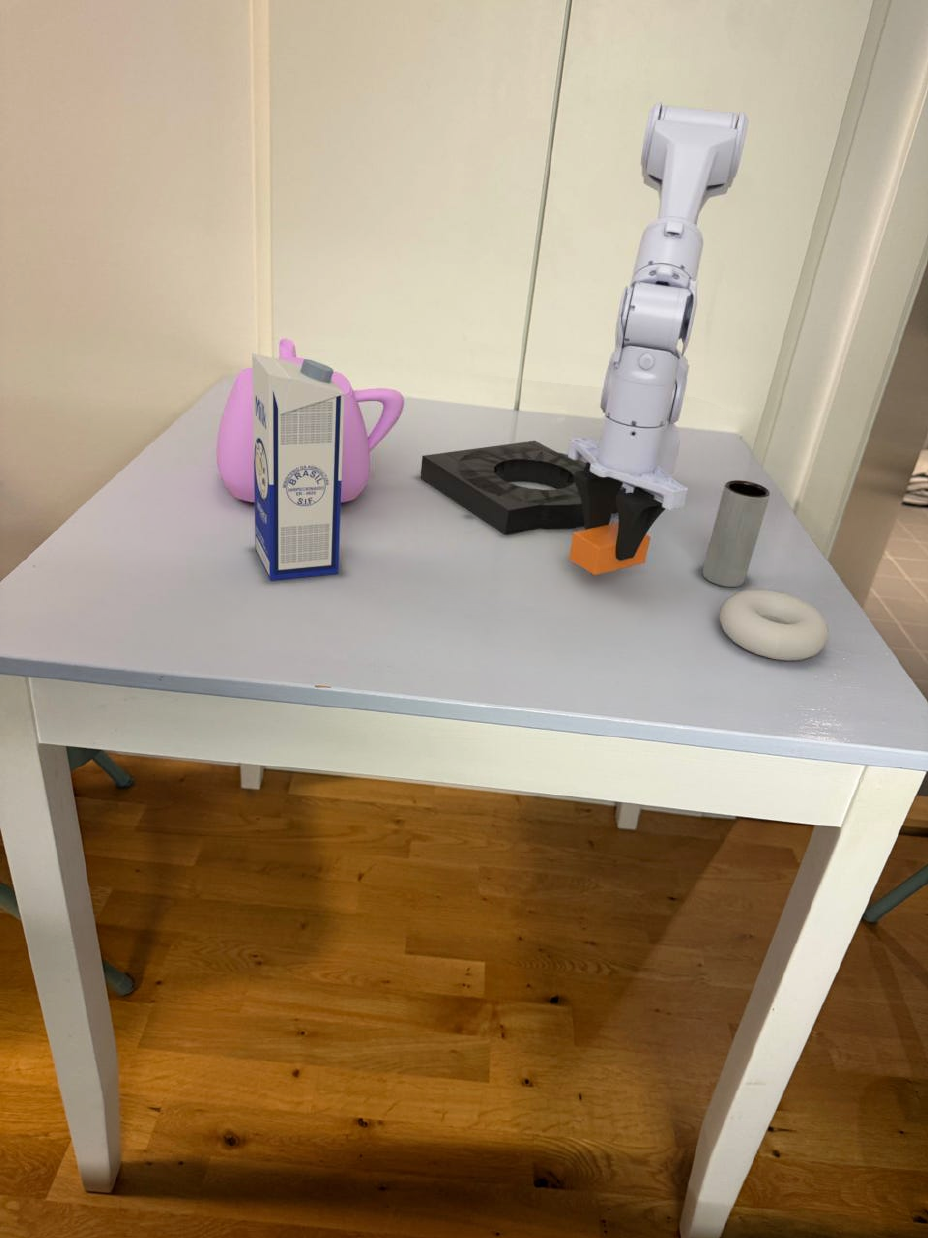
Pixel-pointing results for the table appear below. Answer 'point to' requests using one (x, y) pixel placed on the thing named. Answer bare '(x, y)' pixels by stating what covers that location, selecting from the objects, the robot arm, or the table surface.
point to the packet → (602, 550)
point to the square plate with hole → (511, 485)
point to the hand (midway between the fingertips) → (609, 548)
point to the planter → (735, 532)
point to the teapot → (357, 446)
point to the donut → (774, 624)
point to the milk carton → (297, 467)
